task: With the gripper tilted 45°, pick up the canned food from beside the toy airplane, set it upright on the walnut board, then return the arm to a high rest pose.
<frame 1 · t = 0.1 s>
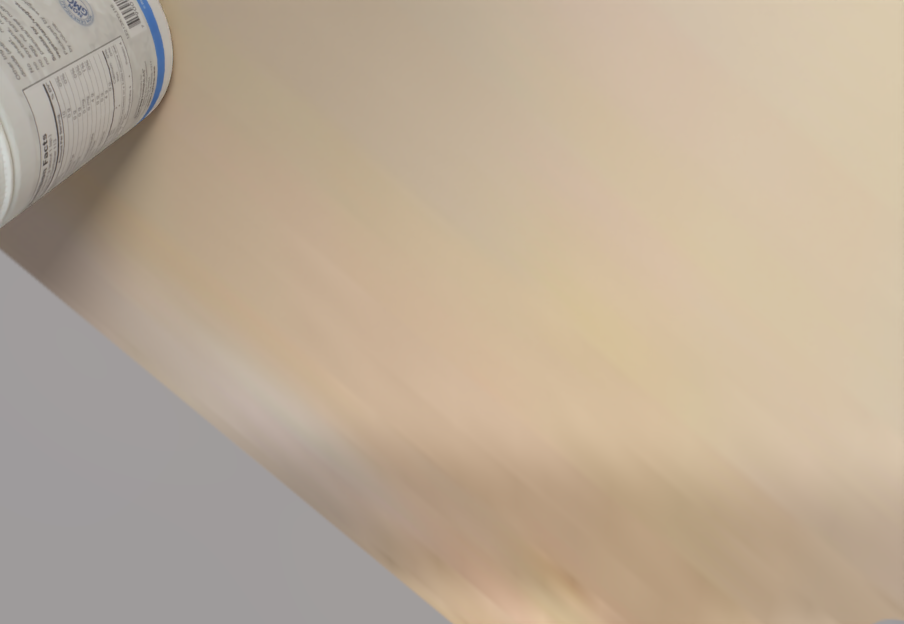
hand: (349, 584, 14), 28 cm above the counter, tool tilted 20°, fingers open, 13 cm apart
supplement tub: (89, 27, 40), on the counter
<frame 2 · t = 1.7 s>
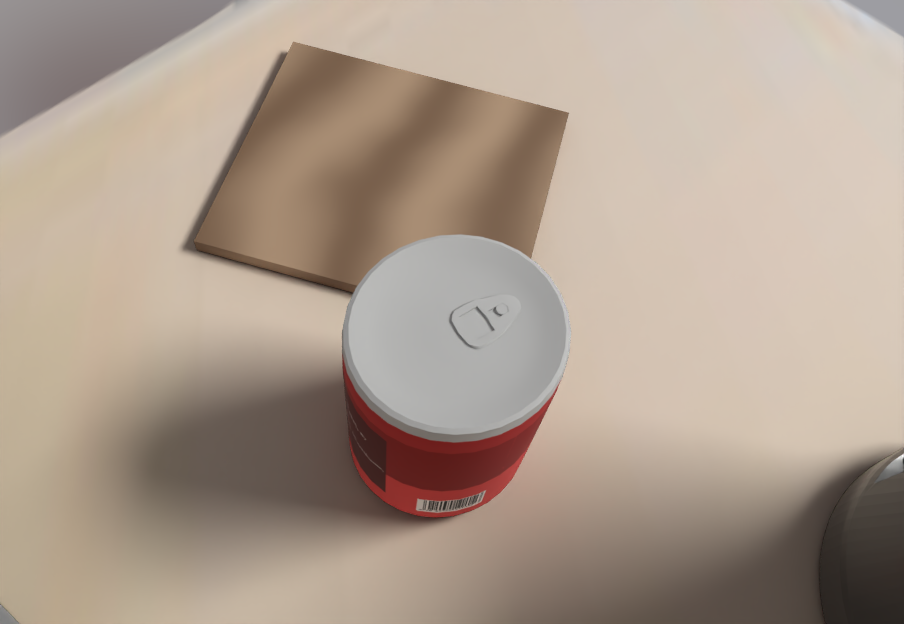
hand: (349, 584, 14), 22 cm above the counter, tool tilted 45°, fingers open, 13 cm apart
walnut board: (393, 182, 45), on the counter
canned food: (437, 439, 39), on the counter
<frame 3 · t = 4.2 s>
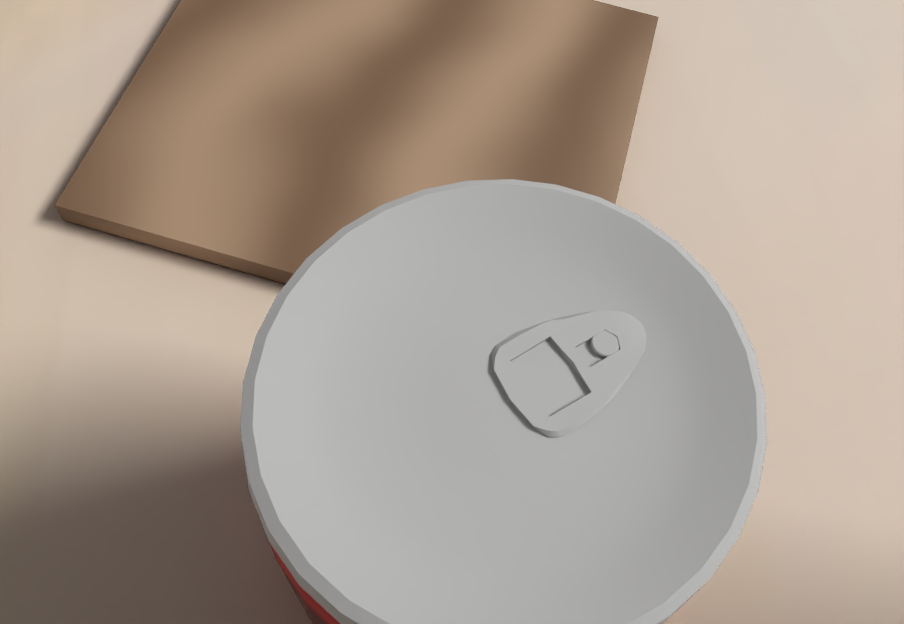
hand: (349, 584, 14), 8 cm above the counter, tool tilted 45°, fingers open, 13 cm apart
walnut board: (386, 118, 29), on the counter
canned food: (452, 548, 22), on the counter
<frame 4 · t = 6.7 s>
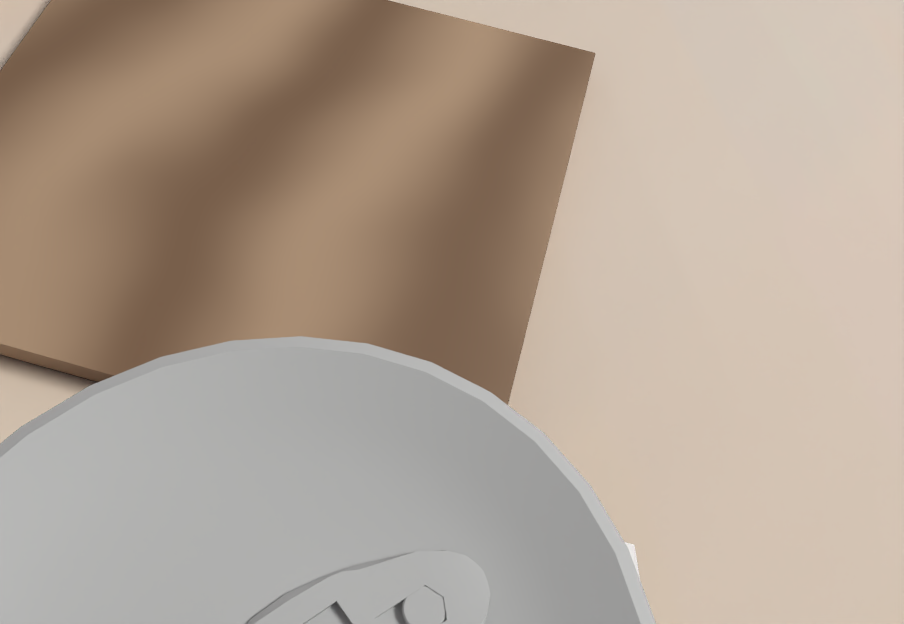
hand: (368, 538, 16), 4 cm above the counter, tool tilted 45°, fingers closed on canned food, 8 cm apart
walnut board: (267, 177, 24), on the counter
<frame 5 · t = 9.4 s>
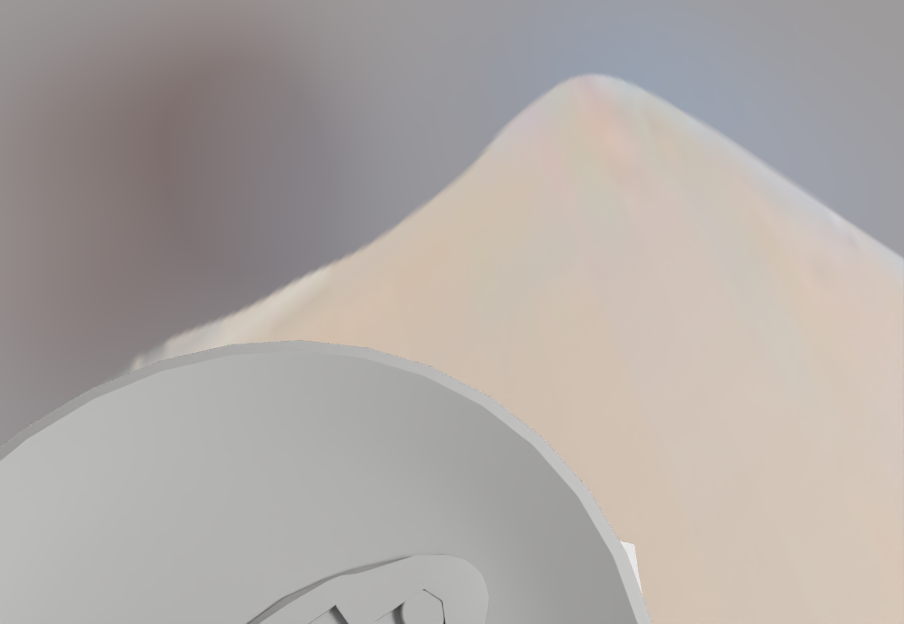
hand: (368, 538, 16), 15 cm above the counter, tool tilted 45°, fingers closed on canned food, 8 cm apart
when the fingers open (6 cm above the counter, at t = 12.3 s): canned food drops 1 cm, resting on walnut board.
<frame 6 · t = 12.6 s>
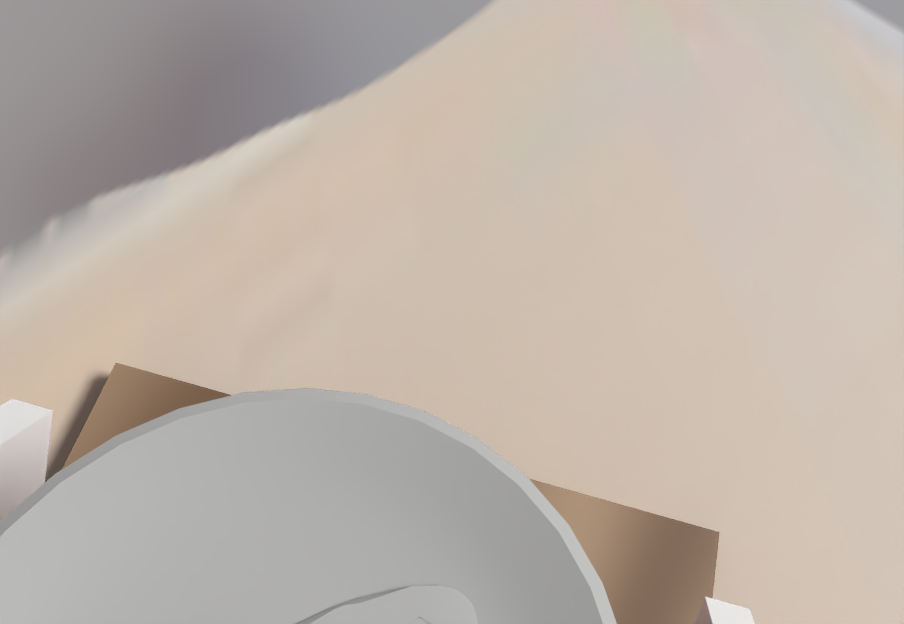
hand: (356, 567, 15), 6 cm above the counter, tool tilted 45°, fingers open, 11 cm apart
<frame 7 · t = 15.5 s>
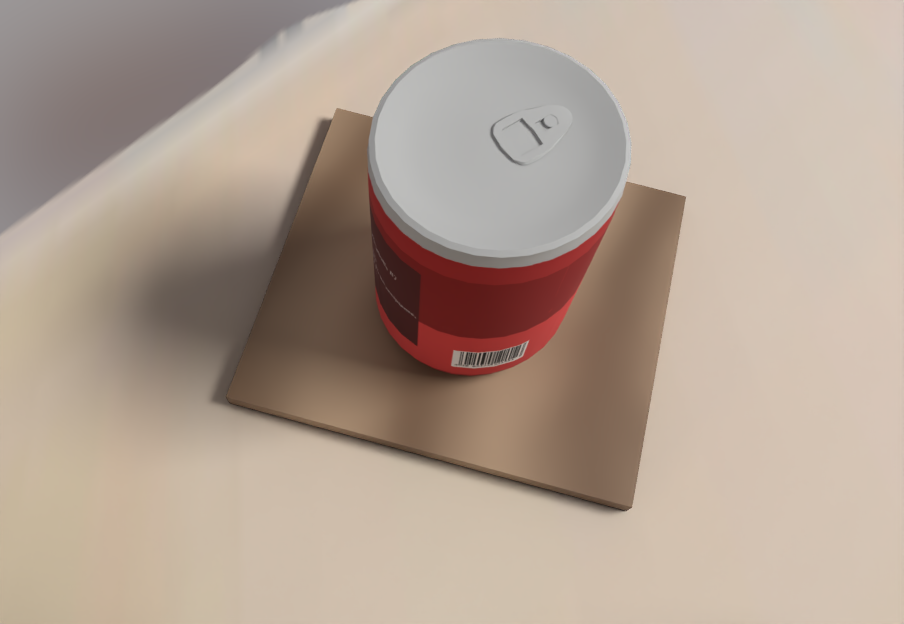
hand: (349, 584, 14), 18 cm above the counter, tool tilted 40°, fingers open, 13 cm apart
walnut board: (469, 297, 36), on the counter
canned food: (471, 295, 35), point 1 cm above the counter, touching walnut board
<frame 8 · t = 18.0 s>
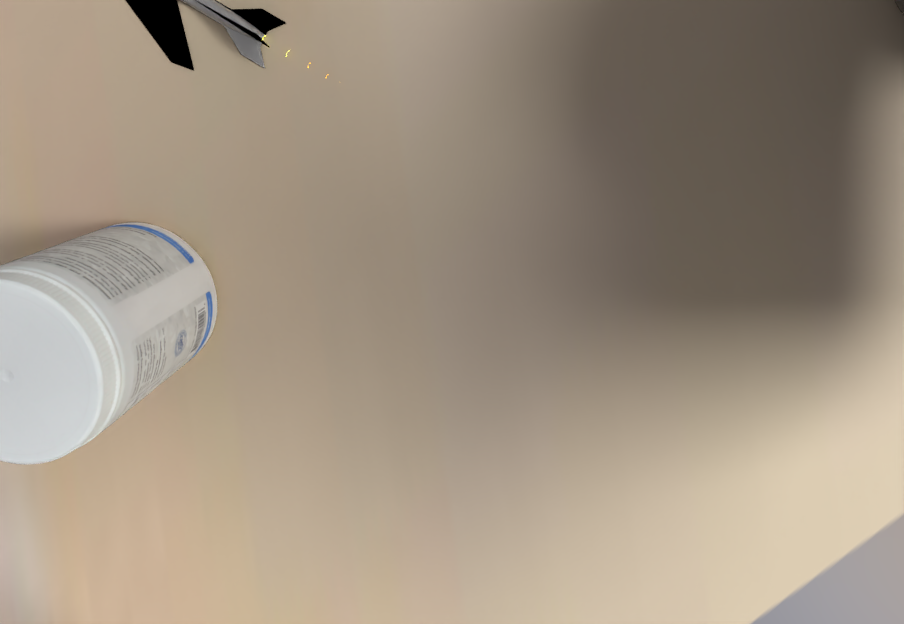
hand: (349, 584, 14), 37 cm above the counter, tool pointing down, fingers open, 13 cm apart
supplement tub: (152, 295, 54), on the counter
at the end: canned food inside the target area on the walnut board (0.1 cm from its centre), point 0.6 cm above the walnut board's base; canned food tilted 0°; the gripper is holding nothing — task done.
